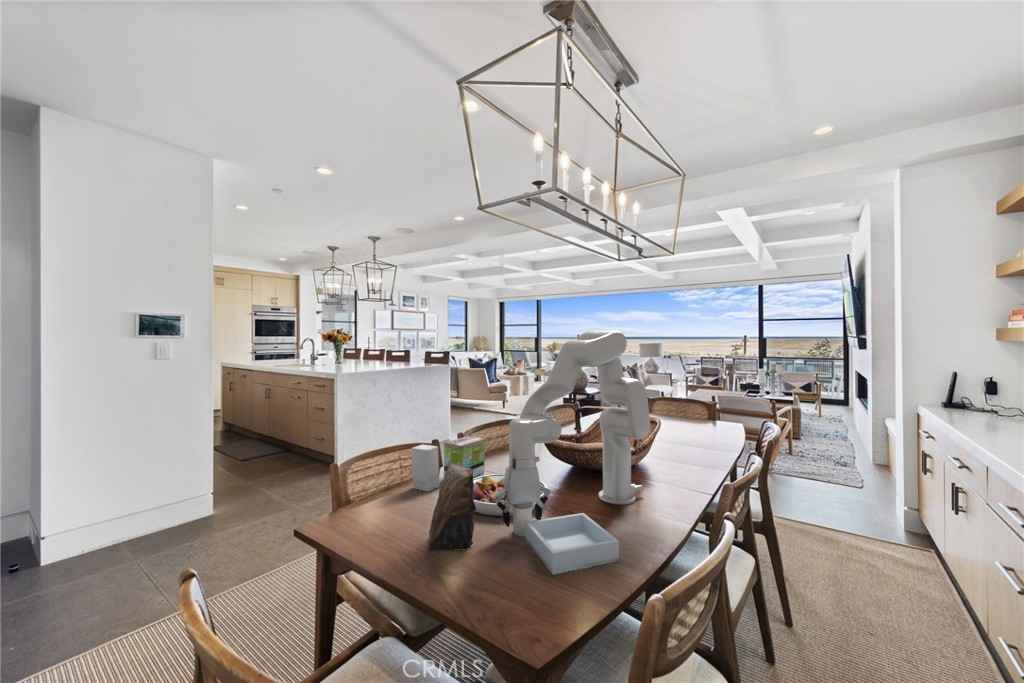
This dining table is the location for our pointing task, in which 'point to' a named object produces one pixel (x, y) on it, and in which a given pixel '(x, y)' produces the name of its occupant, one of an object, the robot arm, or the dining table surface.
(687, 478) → the dining table surface
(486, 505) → the bowl
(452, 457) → the tea box
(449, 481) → the owl
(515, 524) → the canister
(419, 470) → the skincare box
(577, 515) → the tote
